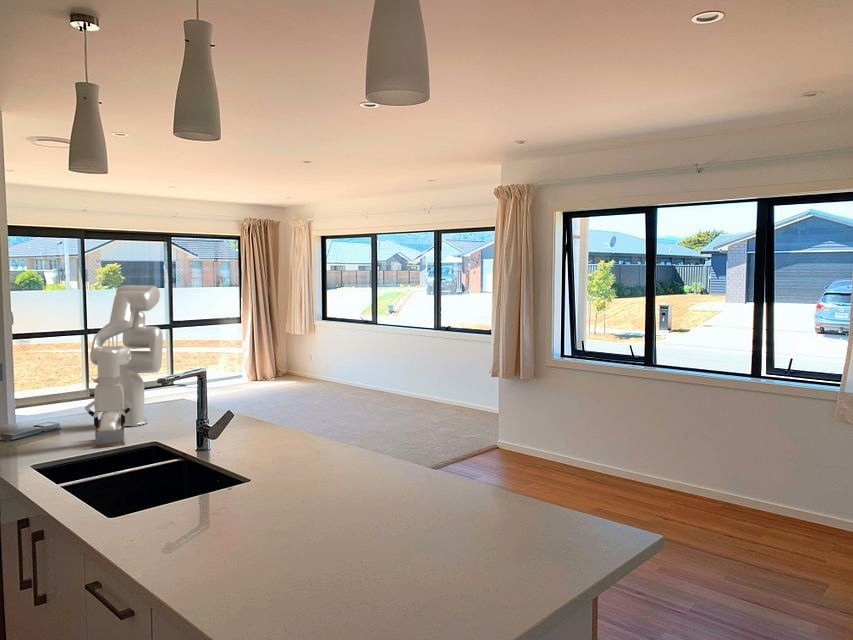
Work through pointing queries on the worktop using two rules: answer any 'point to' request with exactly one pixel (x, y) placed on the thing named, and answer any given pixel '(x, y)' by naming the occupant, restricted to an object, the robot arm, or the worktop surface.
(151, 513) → the worktop surface
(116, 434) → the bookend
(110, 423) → the figurine
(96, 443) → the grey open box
